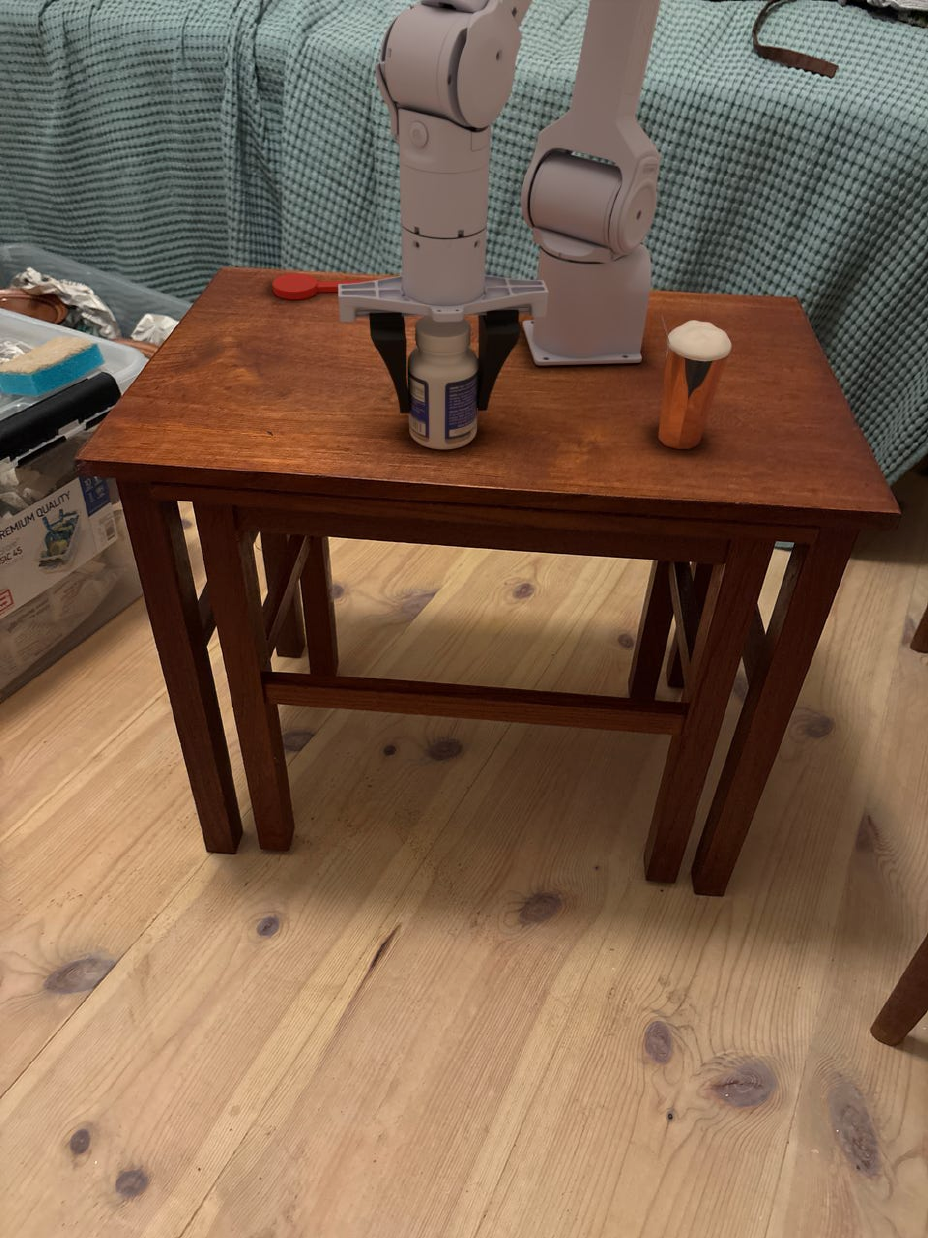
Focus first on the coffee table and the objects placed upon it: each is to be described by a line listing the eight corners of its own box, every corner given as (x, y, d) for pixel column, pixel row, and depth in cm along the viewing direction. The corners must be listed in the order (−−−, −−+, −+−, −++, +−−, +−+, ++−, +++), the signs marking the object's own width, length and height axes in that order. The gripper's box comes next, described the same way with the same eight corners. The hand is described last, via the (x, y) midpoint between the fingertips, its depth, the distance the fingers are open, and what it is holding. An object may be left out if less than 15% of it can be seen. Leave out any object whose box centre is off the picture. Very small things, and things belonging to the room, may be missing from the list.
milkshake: (633, 423, 73) (654, 302, 67) (699, 422, 74) (727, 302, 67) (646, 455, 70) (669, 331, 63) (714, 454, 71) (745, 330, 64)
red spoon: (436, 278, 93) (436, 270, 93) (440, 296, 90) (440, 288, 89) (274, 281, 92) (273, 273, 91) (272, 300, 88) (271, 291, 88)
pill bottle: (479, 418, 74) (483, 311, 67) (473, 453, 70) (477, 344, 64) (413, 413, 74) (411, 306, 68) (403, 448, 70) (401, 339, 64)
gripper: (333, 247, 57) (347, 436, 67) (563, 244, 59) (544, 430, 68) (333, 207, 62) (346, 388, 72) (544, 205, 64) (529, 382, 73)
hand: (442, 405), depth 70 cm, fingers closed on pill bottle, 5 cm apart
